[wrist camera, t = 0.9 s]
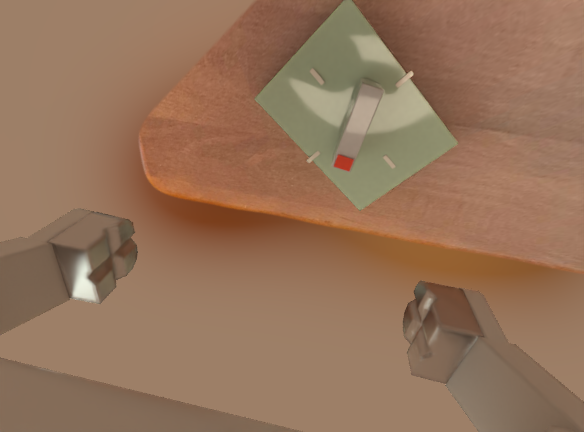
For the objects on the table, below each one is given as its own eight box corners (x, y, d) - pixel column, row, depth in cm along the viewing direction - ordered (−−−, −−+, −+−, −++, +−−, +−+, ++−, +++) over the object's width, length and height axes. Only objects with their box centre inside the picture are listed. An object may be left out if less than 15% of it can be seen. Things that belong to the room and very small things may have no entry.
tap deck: (259, 95, 29) (250, 102, 26) (351, -6, 24) (352, -10, 21) (356, 198, 33) (356, 214, 30) (452, 130, 28) (463, 141, 25)
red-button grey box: (361, 77, 24) (362, 83, 21) (380, 83, 24) (385, 90, 21) (332, 154, 27) (330, 168, 25) (349, 159, 27) (350, 174, 25)
